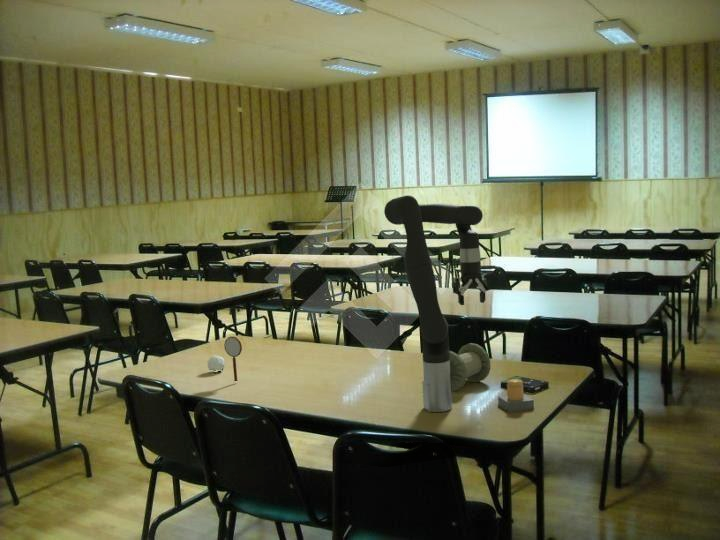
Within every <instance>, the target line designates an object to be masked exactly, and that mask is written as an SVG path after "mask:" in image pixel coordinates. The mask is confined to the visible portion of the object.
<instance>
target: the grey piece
mask: <svg viewBox="0 0 720 540" xmlns="http://www.w3.org/2000/svg"><path fill="white" fill-rule="evenodd" d="M523 396H524V398H523V399H522V400H510V399H508V394H506V395H498V396H497V402H498V405H499V407H501V408H503V409H504V410H506V411H507V412H509V413H510V412H511V413H512V412H518V411H519V412H520V411H526V410H533V409H535V405H534V403H535V402H534V399H533V398H530V397H529V396H528V395H526V394H524V393H523Z"/></svg>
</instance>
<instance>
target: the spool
mask: <svg viewBox="0 0 720 540" xmlns="http://www.w3.org/2000/svg"><path fill="white" fill-rule="evenodd" d="M449 358H450V378H451V392H455V391H458V390H460V389H461V388H462V387H463V386H465V384H466V381H468V382H473V383H479V382H481V381H484V380H485V379H487V377H488V376H489V374H490V372H491V360H490V357H489V353H487V351H486V350H485V349H484V347H483V346H481V345H479V344H477V343H472V342H470V343H467V344H464V345H462V346H461V347H460V349H459V350H458V353H456V352H454V351H452V350H449Z"/></svg>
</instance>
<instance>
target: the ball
mask: <svg viewBox="0 0 720 540" xmlns="http://www.w3.org/2000/svg"><path fill="white" fill-rule="evenodd" d="M225 363H226V361H225V359H224V357H222V356H221V355H212V356H210V357H209V359H208V360H207V368H208V370H209V371H210V370H213V371H216V370H222V369H223V370H224V368H226V364H225ZM223 370H222V371H223Z"/></svg>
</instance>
